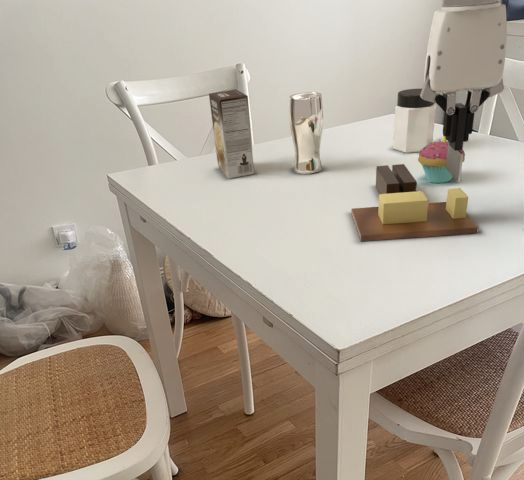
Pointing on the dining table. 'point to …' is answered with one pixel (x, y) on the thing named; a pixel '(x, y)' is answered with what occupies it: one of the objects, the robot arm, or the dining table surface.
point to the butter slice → (456, 203)
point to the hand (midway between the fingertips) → (456, 139)
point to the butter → (403, 207)
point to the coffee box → (232, 133)
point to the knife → (457, 144)
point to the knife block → (394, 179)
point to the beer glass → (306, 130)
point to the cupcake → (436, 161)
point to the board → (411, 224)
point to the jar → (413, 121)
